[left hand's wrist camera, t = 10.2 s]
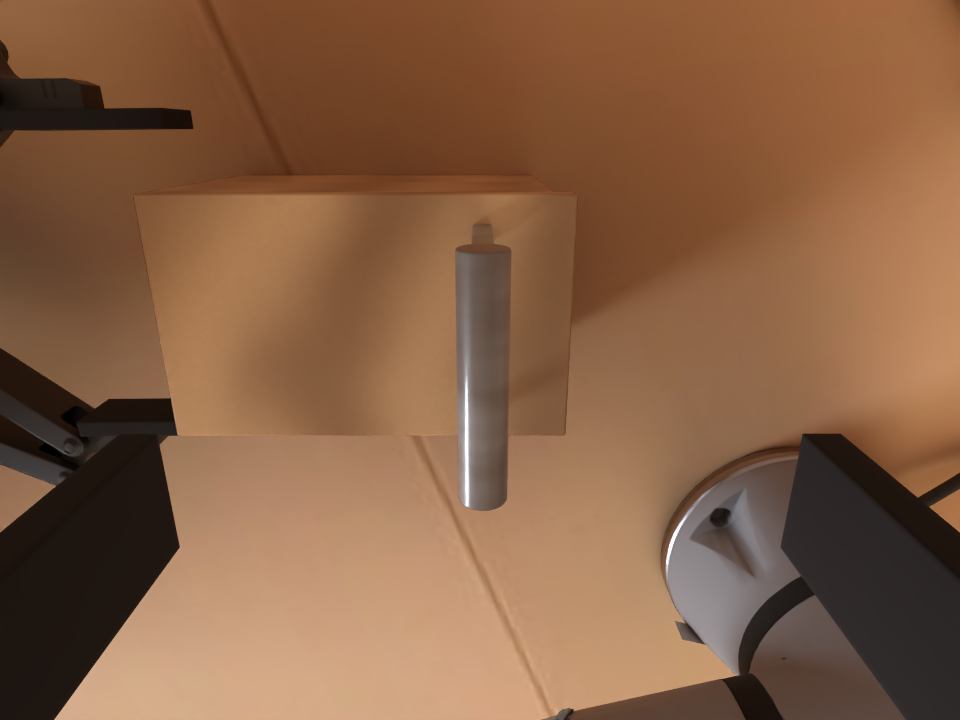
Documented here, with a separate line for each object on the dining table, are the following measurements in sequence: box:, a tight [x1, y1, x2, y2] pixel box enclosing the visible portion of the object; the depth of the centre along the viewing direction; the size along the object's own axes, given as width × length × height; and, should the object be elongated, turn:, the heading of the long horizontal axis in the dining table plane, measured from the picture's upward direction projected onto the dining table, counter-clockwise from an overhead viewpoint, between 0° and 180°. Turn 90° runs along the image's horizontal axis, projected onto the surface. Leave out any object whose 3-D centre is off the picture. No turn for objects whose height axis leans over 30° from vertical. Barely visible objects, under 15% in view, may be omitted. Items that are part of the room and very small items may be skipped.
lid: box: [133, 192, 578, 511], centre depth 21 cm, size 16×10×8 cm, turn 90°
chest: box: [149, 175, 553, 192], centre depth 30 cm, size 16×10×10 cm, turn 90°
